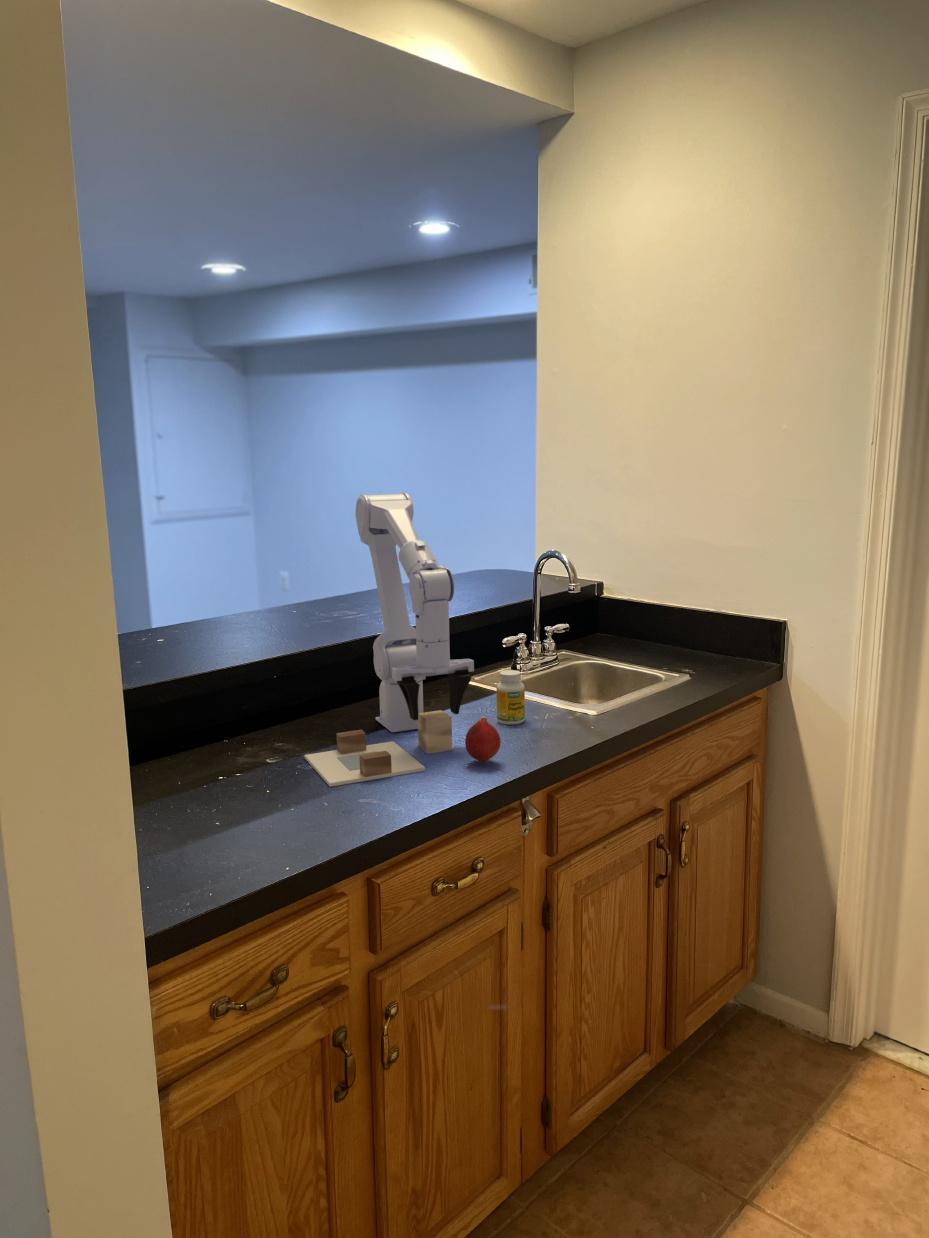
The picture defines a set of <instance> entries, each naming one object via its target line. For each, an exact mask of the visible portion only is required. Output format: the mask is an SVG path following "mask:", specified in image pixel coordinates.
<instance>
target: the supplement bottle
mask: <svg viewBox="0 0 929 1238" xmlns="http://www.w3.org/2000/svg"><path fill="white" fill-rule="evenodd" d="M521 678H522V672H521V671H519V670H513V669H510V670H509V669H506V670H501V671H499V680H500V681H499V682H498V683H497V685H496V721H497V723H500V724H501V725H502V724H503V725H508V726H512V725H520V724H523V723H524V721H525V718H526V715H525V714H526V712H525V710H526V709H525V708H526V707H525V705H526V701H525V694H526V692H525V684H524V683H523V682H522V681H521V680H522V679H521Z"/></svg>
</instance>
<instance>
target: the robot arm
mask: <svg viewBox="0 0 929 1238" xmlns="http://www.w3.org/2000/svg"><path fill="white" fill-rule="evenodd" d="M414 511H415V510H414V503H413V500H412V498H411V496H410V495H409V494H408V493H407V492H402V493H392V494H391V493H390V494H368V495H367V494H364V493H363V494H360V495H359V497H358V498H357V500H356V503H355V519H356V525H357V527H356V528H357V531H358V535H359V538H360V542H361V543H363V544H364V545H367V546H368V548H369V553H370V557H371V561H372V567H373V571H374V572H373V573H374V578H375V583H376V588H377V594H378V599H379V605H380V612H381V614H382V620H383V627H384V630H383V631H382V632H381V633H380V634H379V635H378V636H377V637H376V638H375V640H374V642H373V646H372V649H373V666H374V667H373V668H374V671H375V673H376V676H377V677H378V678H379V679H380V680H381V682H380V685H379V690H378V692H379V693H378V694H379V713H380V714H379V716H376V717H375V720H376V721H377V722H378V723H379V724H380V725H382V726H383V727H385V728H386V729H387V730H388V731H389V732H391V733H397V732H398V733H399V732H404V731H413V730H418V713H424V693H423V692H424V691H423V689H424V687H423V680H426V677H432V676H438V675H439V676H440V675H447V680H448V687H449V708H450V709H449V710H450V712H451V713H452V714H454V715H459V714H460V710H461V706H462V705H461V704H462V701H463V698H464V694H465V691H466V690H467V687H468V686H469V684H470V682H471V680H472V674H471V673H470V672H474V671H475V661H474V659H470V658H462V659H461V658H460V659H451V656H450V655H451V653H450V651H451V650H450V612H449V610H450V608H449V607H450V606H449V605H450V604H449V602H451V601H453V598H454V595H455V580H454V577H453V574H452V571H451V569H450V568H448V567H446V566H445V567H444V565H442V564H441V565H440V564H439V562H438V561H437V559H436V557H435V556H434V554H433V552H432V550H431V548H430V546H429V544H428V543H427V542H425V541H424V540H420V539H419V538H418V534H417V532H416V530H415V527H414V525H413V517H414ZM397 546H398V548H399V552H398V553H397ZM399 563H400V564H401V566H402V568H403V571H404V572H405V575H406V576H407V578H408V581H409V583H408V589H409V590H408V591H409V597H410V599H411V608H412V613H413V614H415V627H414V626H412V624H411V622H410V616H409V612H408V611H409V610H408V605H407V601H406V596H405V595H406V594H405V590H404V585H403V580H402V574H401V569H400V565H399Z"/></svg>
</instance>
